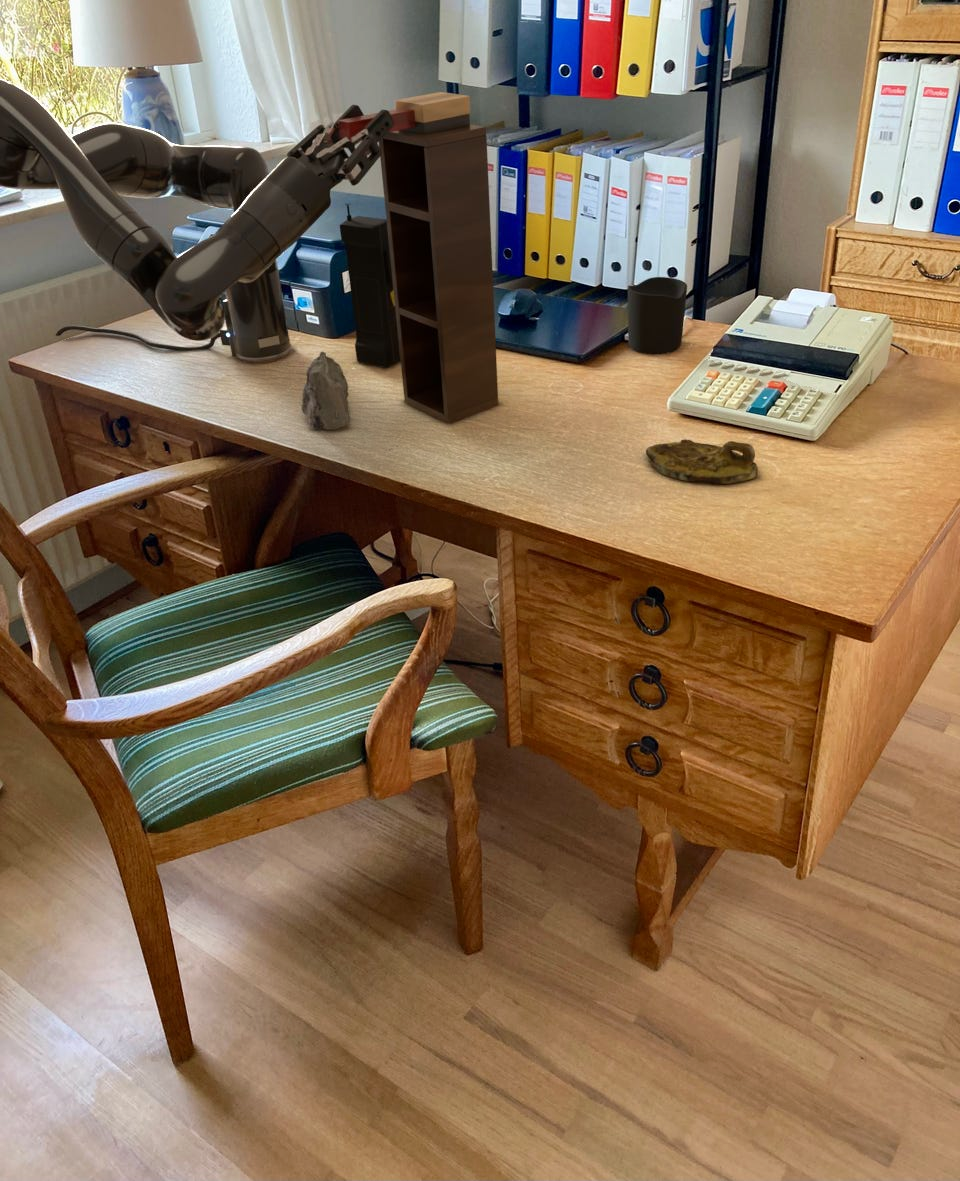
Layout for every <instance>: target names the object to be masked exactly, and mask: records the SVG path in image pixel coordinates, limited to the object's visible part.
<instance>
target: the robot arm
mask: <svg viewBox="0 0 960 1181" xmlns="http://www.w3.org/2000/svg"><path fill="white" fill-rule="evenodd" d="M389 111H390V110H389V109H388V110H387V109H380V111H379V112H377V113H378V114H377V115H376V116H375V117H374V118H373V119H372V120H371V121H370V122H369V123H368V124H367V125H366V126H365V127H364V130H362V131H361V132H359V133H358V134H356V135H355V136H353V137H352V138H349V137H345V138H340V137H339V128H338V120H343V119H348V118H353V117H359V116H364V115H365V114H364V112H363V111H362V109H361V107H360V106H359V105H358V104H352V105H351V106H349V108H347V110H346V111H345V112H344V113H343V114H341V115H340V117H338V118H337V120H336V121H335V122H330V123H328V124H327V125H326V127H325V126H324V124H319V125H317V126H316V127H315V128H314V129H313V130H311V131H310V132H309V133H308V134H307V135H306V136H305V137H304V138H303V139H301V140H300V141H299V142H298V143H297V144H296V145H294V146H293V147H292V148H291V149H290V150H289V151H288V152H287V153H286V157H284V158H283V159H282V160H281V161H280V162H279V163H278V164H277V165H276V166H275V168H274V169H272V171H271V172H270V171H269V168H268V164H267V162H266V160H265V158H264V156H263V155H262V154H261V153H260V151H258V150H257V149H256V148H254V147H248V146H236V145H235V146H233V145H180V144H175V143H172V142H170V141H169V140H168V139H166V138H165V137H164V136H162V135H160V134H159V133H156V132H155V131H152V130H149V129H146V128H142V127H139V126H133V125H128V124H123V123H117V122H104V123H100V124H97V125H94V126H90V127H88V128H85V129H83V130H81V131H78V132H75V133H74V134H71V135H70V134H68V132H67V131H66V130H65V128H64V127H63V126H62V125H61V123H60V122H59V121H58V120H57V119H56V118H55V116H54V115H53V114H52V113H51V111H49V110H48V109H47V108H46V106H44V104H42V102H40V101H39V99H37V98H36V97H34V96H33V95H32V94H31V93H29V92H28V91H26V90H25V89H24V88H22V87H20V86H18V85H16V84H14V83H12V82H10V81H7V80H5V79H0V187H2V188H6V189H16V190H59V191H60V193H61V196H62V199H63V201H64V203H65V207H66V209H67V211H68V214H69V216H70V219H71V221H72V223H73V225H74V227H75V229H76V231H77V232H78V235H79V236H80V238H81V240H82V241H83V242H84V243H85V245H87V247H88V248H89V249H90V250H91V252H93V253H94V254H95V255H96V256H97V257H98V258H99V259H100V260H101V261H103V263H104V264H105V265H107V266H108V267H109V268H110V269H111V270H112V271H113V272H114V273H115V274H116V275H118V276H119V277H120V278H121V279H123V280H124V281H125V282H126V283H127V284H129V286H131V287H132V288H133V289H134V290H135V291H136V292H137V293H138V294H139V296H141V298H142V300H144V301H145V302H146V303H147V305H148V306H149V307H150V308H151V309H152V310H153V311H154V312H155V313H156V314H157V315H158V317H159V318H161V320H162V321H163V322H164V323H165V324H166V325H167V326H168V327H169V328H170V329H171V330H173V332H174V333H176V334H177V335H178V336H180V337H183V338H185V339H186V340H189V341H195V342H204V341H208V340H209V342H208V343H206V344H203V345H199V346H177V345H172V344H165V343H164V344H163V343H157V342H154V341H151V340H149V339H148V338H145V337H144V336H142V335H140V334H138V333H133V332H129V331H125V330H119V329H114V328H102V327H90V326H84V325H77V324H75V325H74V324H73V325H71V324H70V325H65V326H62V327H61V328H59V329H58V330H57V331H56V333H55V336H56V337H60V336H62V334H64V333H65V332H67V331H75V330H76V331H83V332H89V333H90V332H91V333H99V334H113V335H118V336H119V335H120V336H124V337H128V338H133V339H136V340H137V341H140V342H142V343H144V344H145V345H147V346H149V347H152V348H156V349H162V350H168V351H177V352H187V351H203V350H209V349H211V348H213V347H214V346H215V343H216V340H217V339H219V338H220V341H221V345H222V346H228V347H230V352H231V353H230V354H231V357H233V358H237V359H238V360H240V361H242V362H246V363H266V362H271V361H272V362H273V361H276V360H279V359H282V358H284V357H286V356H288V355H289V354H290V353H291V352H292V344H291V339H290V335H289V329H288V322H287V315H286V310H285V304H284V297H283V291H282V284H281V278H280V272H279V266H278V260H277V259H278V258H279V257H280V256H281V255H282V254H283V253H284V252H286V251H287V250H288V249H289V248H291V247H292V246H293V245H294V244H295V243H297V241H299V240H300V239H301V237H303V235H304V234H305V233H306V232H307V231H308V230H309V229H310V228H311V227H312V226H313V225H314V224H315V223H316V221H318V219H320V217H321V216H322V215H323V214H324V213H325V212H326V211H327V210H328V209H329V208H330V206H332V198H331V190H332V189H334V188H335V187H336V186H338V185H339V184H341V183H342V182H343V181H345V180H347V181H349V183H350V185H351V186H356V185H358V184H360V182H361V181H362V180H363V179H364V177H366V175H367V173H369V171H370V170H371V168H372V167H373V166H374V165H375V163H376V162H377V161H378V160H379V159H380V156H381V155H382V153H383V152H382V150H381V149H380V147H379V141H380V140H381V139H382V138H383V137H384V135H385V134H386V133H387V132H388V131H389V130H390V129H391V128H392V127H393V126H394V120H393V118H392V116H391V115H390V113H389ZM356 145H357V147H356ZM346 149H347V150H348V151H349V152H350V155H349V154H348V153H347V151H346ZM122 197H127V198H128V197H129V198H135V199H136V198H137V199H159V198H160V199H161V198H165V197H175V198H181V199H185V200H189V201H192V202H195V203H198V204H202V205H203V206H204V205H205V206H208V207H211V208H215V209H224V210H232V211H233V214H231V216H229V218H228V219H227V220H226V221H225V222H224V223H222V224H221V226H220V227H219V228H218V229H217V230H216V232H214V234H212V235H210V236H209V237H207V238H205V239H203V240H201V241H199V242H198V243H196V244H195V245H193V246H192V247H190V248H189V249H187V250H185V251H183V252H182V253H180V254H179V255H178V256H177V255H176V254H175V252H174V251H173V248H172V247H171V246H170V245H169V243H168V241H166V240H167V239H165V238H164V237H163V236H162V235H161V233H160V232H159V231H157V229H155V228H154V227H153V226H152V225H151V224H150V223H149V222H148V221H147V220H145V219H144V217H142V216H141V215H140V214H139V213H138V211H137V212H136V210H135V209H134V208H132V207H131V206H130V205H129V204H128V203H127V202H126V201H125V200H124V199H123V198H122ZM224 293H225V294H224ZM223 294H224V295H225V299H224V300H223V298H222V295H223ZM224 324H225V326H224Z"/></svg>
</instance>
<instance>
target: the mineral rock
mask: <svg viewBox="0 0 960 1181" xmlns="http://www.w3.org/2000/svg"><path fill="white" fill-rule="evenodd" d="M305 380H306V382H305V384H304V385H303V390H302V399H301V403H302V404H301V411H302V413H303V414H304V415H305V416H306V418H307V421H308V424H309V425H310V426H311V427H312V428H313V429H314V430H315V429H316V430H319V429H325V430H330V431H331V430H336V429H339V428H341V427H345V426H347V425H348V424H349V423H350V422H351V414H350V408H349V407H350V406H349V400H348V397H349V384H348V381H347V377H346V376H345V374H344V371H343V369H342V367H341V365H340V364H339V363H338V362H336V361H335V359H333V358H332V357H329V356H327V352H324V351H320V353H319V356H317V357H316V358H314V359H313V360H312V362H311V363H310V365H309V367H308V368H307V370H306V379H305Z"/></svg>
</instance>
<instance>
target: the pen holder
mask: <svg viewBox="0 0 960 1181" xmlns="http://www.w3.org/2000/svg"><path fill="white" fill-rule="evenodd" d="M687 292H688V284H687V283H686V282H685V281H683V280H681V279H678V278H674V277H669V276H668V277H667V276H653V277H649V278H647V279H645V280H643V281H641V282H639V283H638V284H635V285H628V286H627V337H628V338H627V340H628V342H627V343H628V346H629V348H630V349H631V350H632V351H634V352H637V353H640V354H644V355H666V354H670V353H673V352H675V351H677V350H678V349H679V348H680V347H681V346H682V341H683V332H684V323H685V313H686V302H687Z"/></svg>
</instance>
